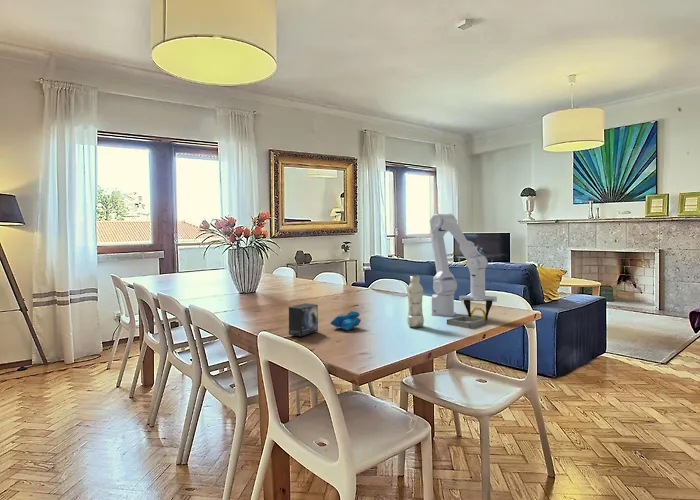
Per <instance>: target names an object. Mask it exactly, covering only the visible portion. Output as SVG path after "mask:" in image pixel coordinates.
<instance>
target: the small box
mask: <svg viewBox="0 0 700 500" xmlns="http://www.w3.org/2000/svg"><path fill="white" fill-rule="evenodd" d="M318 310H319V305H318V304H313V303H300V304H297V305H292V306H291V305H290V306H288V335H290V336H296V337H303V336H307V335H310V334H313V333H317V332H319V312H318Z"/></svg>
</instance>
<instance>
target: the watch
mask: <svg viewBox="0 0 700 500" xmlns="http://www.w3.org/2000/svg"><path fill="white" fill-rule="evenodd" d="M476 311H482V314H483V316H482V319H486V311H484V309H483V308H482V307H479V306H478V307H474V308H473V309H472V310H471V317H474V313H475V312H476Z"/></svg>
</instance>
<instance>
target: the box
mask: <svg viewBox="0 0 700 500" xmlns="http://www.w3.org/2000/svg"><path fill="white" fill-rule="evenodd" d="M486 324H487V321H486V318H485V319H483V317H474V316H473V317H469V315H467V316H466V315H461V316H456V317H455V316H454V317H451V318H447V319H446V325H447V326H454V327H460V328H464V329H470V330H471V329H474V328H477V327H480V326H483V325H486Z"/></svg>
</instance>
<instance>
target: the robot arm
mask: <svg viewBox="0 0 700 500" xmlns="http://www.w3.org/2000/svg"><path fill="white" fill-rule="evenodd" d="M458 224H459V223H458V219H456V217H455V216H454V215H453V214H452V213H434V214H433V215H432V216H431V218H430V219H429V226H430V227H429V228H430V231H429V235H430V241H431V242H430V243H431V247H432V253H433V258H434V264H435V265H434V266H435V270H436V274H435V275H434V276H433V277H432V279H433V282H432V283H433V284H432V288H433V291H434V293H433V294H432V295H431V315H432V316H438V317H439V316H443V317H448V316H449V317H455V315H456V311H455V310H454V309H455V306H454V305H455V292H456V291H457V289H458V283H457V280H456V279H455V275H454V274H453V273H452V272H451V271H450V267H449V261H448V260H449V259H448V255H447V250H446V244H445V238H444V236H445V235H446V234H447V233H448V232H449V233H450V234H451V235H452V237H453V239H454V240H455V241H456V242H457V243H458V245H459V248H458V249H459V251H460V252H461V254H462V255H463V257H464V258H465V260H466V261H467V262H466V267H467V268H468V270H469V275H470V276H469V278H470V279H469V280H470V281H469V282H470V295H459V300H458V301H460V302H463V305H464V307H465V310H466V311H467V316H468V317H471V312H472V310H471V302H485V314H486V317H485V319H486V320H487V321H488V317H489V314H490V309H491V308H492V305H493V303H498V297H497V295H495V296H493V295H486V269H487V268H488V265H489V261H488V259H487V256H485V255H482V254H481V252H480V251H478V248H477V247H476V246H475V245H476V244H475V243H474V242H472V241H471V240H468V239H467V238H466V236H465V234H464V233H463V231H462V229H461V228H460V226H459V225H458Z"/></svg>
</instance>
